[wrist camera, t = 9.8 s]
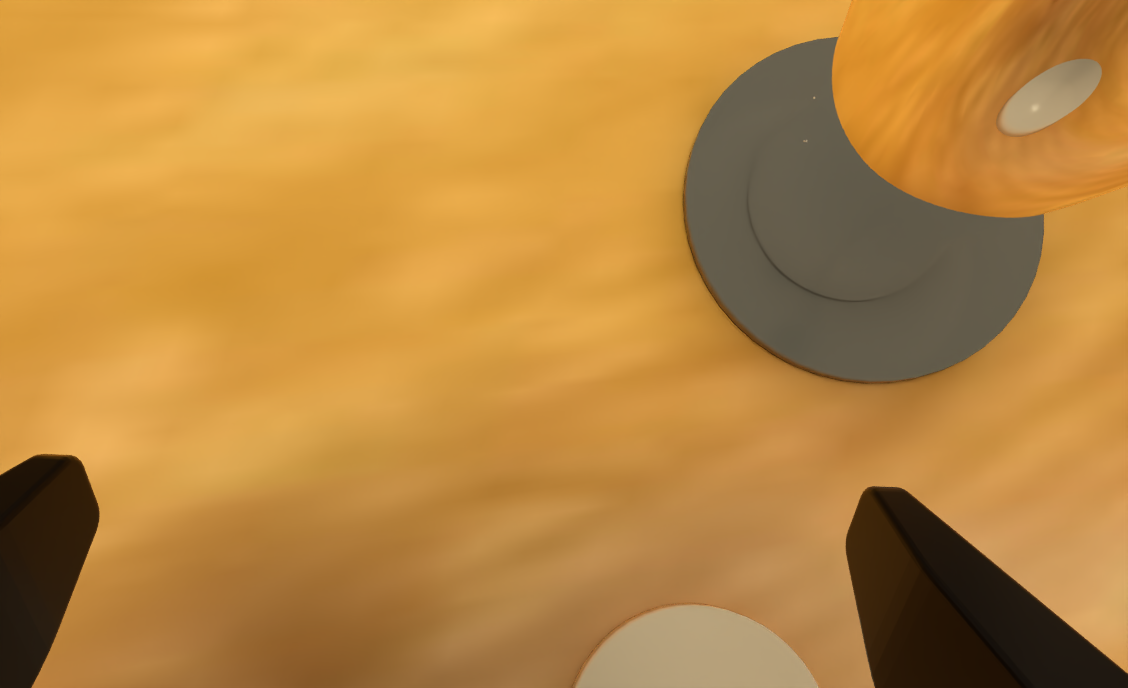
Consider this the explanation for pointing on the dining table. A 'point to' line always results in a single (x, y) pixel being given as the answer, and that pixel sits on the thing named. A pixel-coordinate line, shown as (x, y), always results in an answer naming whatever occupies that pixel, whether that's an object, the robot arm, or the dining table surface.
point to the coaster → (820, 324)
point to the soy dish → (693, 653)
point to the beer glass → (941, 136)
